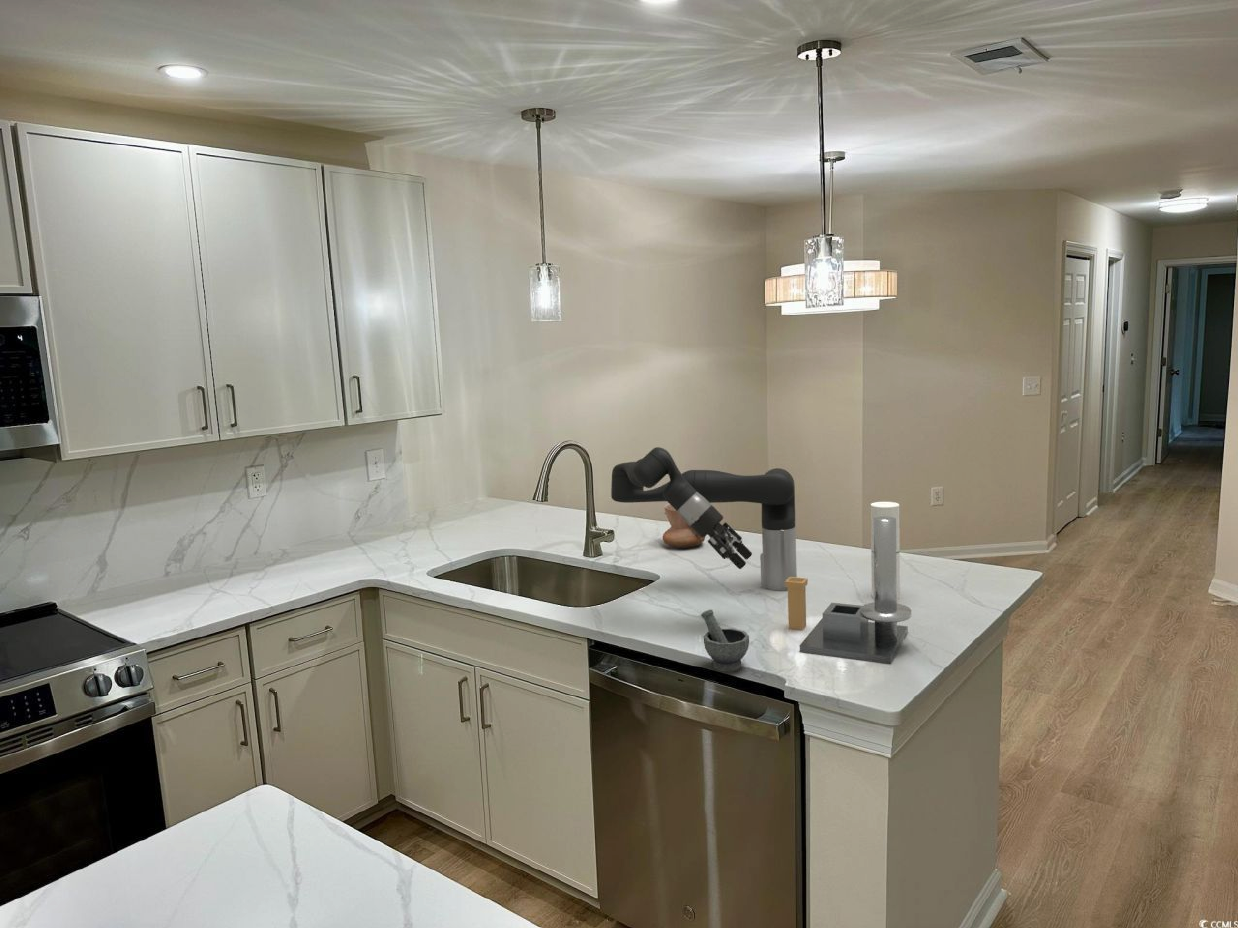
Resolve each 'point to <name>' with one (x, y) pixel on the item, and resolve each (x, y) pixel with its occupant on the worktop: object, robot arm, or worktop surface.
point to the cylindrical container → (893, 511)
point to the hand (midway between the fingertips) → (746, 561)
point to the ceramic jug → (679, 531)
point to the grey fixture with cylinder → (866, 612)
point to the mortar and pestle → (724, 644)
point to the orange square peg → (796, 602)
